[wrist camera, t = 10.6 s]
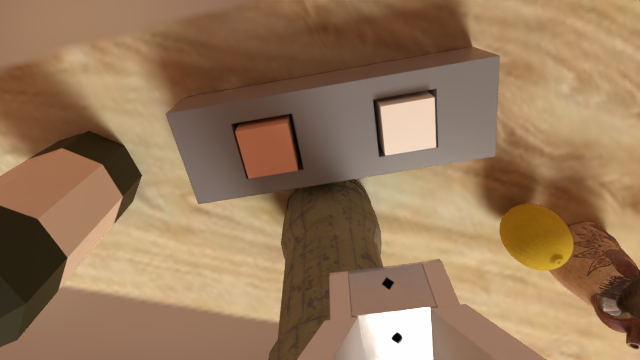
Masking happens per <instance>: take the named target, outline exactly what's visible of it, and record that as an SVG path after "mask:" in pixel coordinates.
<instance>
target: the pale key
mask: <svg viewBox="0 0 640 360" xmlns="http://www.w3.org/2000/svg"><path fill="white" fill-rule="evenodd" d="M374 108H375V117H376V127H377V136H378V141H379V144H380V146H381V148H382V150H383V152H384V154H385V156H387V155H393V154H399V153H405V152H411V151H418V150H424V149H430V148H436V127H435V97H434V96H432V95H431V94H430V93H429V92H428V91H420V92H414V93H408V94H402V95H396V96H391V97H385V98H379V99H374Z"/></svg>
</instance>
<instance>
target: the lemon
mask: <svg viewBox="0 0 640 360" xmlns="http://www.w3.org/2000/svg"><path fill="white" fill-rule="evenodd" d="M500 236H501V240H502V242H503V244H504V246H505V248H506V249H507V250H508V252H509V253H510V254H511V255H512V256H513V257H514V258H515V259H516V260H518V261H519V262H520V263H522V264H523V265H525V266H527V267H529V268H532V269H535V270H542V271H546V270H552V269H556V268H558V267H560V266H562V265H563V264H565V263H566V262H567V261H568V259H569V258H570V256H571V254H572V251H573V238H572V235H571V232H570V230H569V228H568V227H567V225H566V224H565V223H564V221H563V220H562V219H561V218H560V217H559V216H558V215H557V214H556V213H554V212H553V211H551V210H550V209H548V208H546V207H544V206H541V205H537V204H522V205H518V206H515V207H513V208H512V209H510V210H509V211H508V212H507V213H506V214H505V215H504V217H503V218H502V220H501V223H500Z"/></svg>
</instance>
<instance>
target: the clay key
mask: <svg viewBox="0 0 640 360" xmlns="http://www.w3.org/2000/svg"><path fill="white" fill-rule="evenodd" d="M235 133H236V136H237V140H238V143H239V147H240V150H241V154H242V158H243V161H244V165H245V168H246V172H247V175H248V179H249V178H256V177H262V176H268V175H274V174H280V173H286V172H292V171H298V157H299V153H298V148H297V143H296V138H295V134H294V129H293V124H292V119H291V114H286V115H280V116H274V117H268V118H262V119H256V120H251V121H245V122H240V123H239V125H238V127H237V129H236V131H235Z"/></svg>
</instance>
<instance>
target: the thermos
mask: <svg viewBox="0 0 640 360" xmlns="http://www.w3.org/2000/svg"><path fill="white" fill-rule="evenodd" d="M381 245H382V244H381V231H380V228H379V224H378V221H377V217H376V214H375V212H374V210H373V208H372V205H371V201H370V199H369V197H368V195H367V193H366V191H365V189H364V188H363V187H362V186H361V185H359V184H358V183H357V182H356V181H355V180H353V179H352V180H345V181H339V182H333V183H327V184H321V185H314V186H308V187H302V188H296V189H294V191H293V193H292V194H291V196H290V198H289V200H288V205H287V211H286V213H285V218H284V224H283V231H282V239H281V246H282V250H283V255H284V258H285V271H284V281H283V291H282V301H281V311H280V321H279V332H278V340H277V342H276V343H275V345H274V346H273V348H272V350H271V351H270V354H269V359H268V360H297V359H298V358H299V356H300V355H301V353H302V352H303V351H304V349H305V348H306V346H307V345H308V343H309V342H310V341H311V339H312V338H313V336H314V335H315V334H316V332H317V331H318V329H319V328H320V327H321V325H322V324H323V322H324V321H326V320H330V290H329V276H330V273H335V272H345V271H348V272H349V271H351V270H360V269H370V268H380V267H383V265H382V261H381V257H380V254H381Z"/></svg>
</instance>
